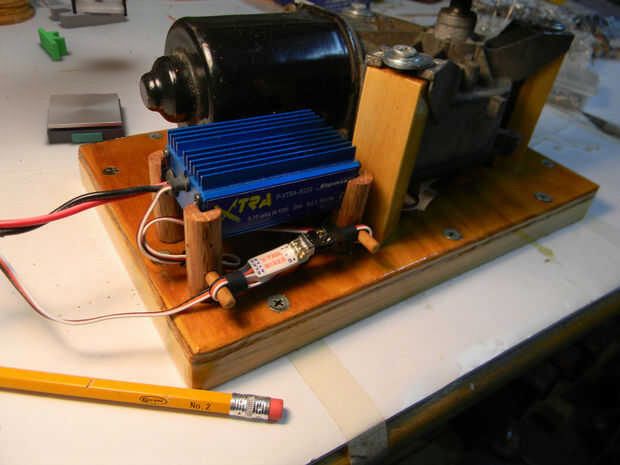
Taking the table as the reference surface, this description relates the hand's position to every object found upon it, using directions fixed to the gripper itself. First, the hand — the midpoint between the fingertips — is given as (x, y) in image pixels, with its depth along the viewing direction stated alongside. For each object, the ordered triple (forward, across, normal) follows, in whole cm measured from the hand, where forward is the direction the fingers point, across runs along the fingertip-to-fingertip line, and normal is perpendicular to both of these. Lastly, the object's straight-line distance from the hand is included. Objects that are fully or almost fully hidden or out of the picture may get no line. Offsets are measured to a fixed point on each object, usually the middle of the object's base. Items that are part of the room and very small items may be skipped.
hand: (100, 13), depth 108 cm
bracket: (+13, -4, +33) cm, 36 cm away
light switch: (0, 0, 0) cm, 0 cm away
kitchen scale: (+13, -5, -30) cm, 33 cm away
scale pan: (+9, -5, -30) cm, 32 cm away
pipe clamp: (+13, -12, +8) cm, 19 cm away
